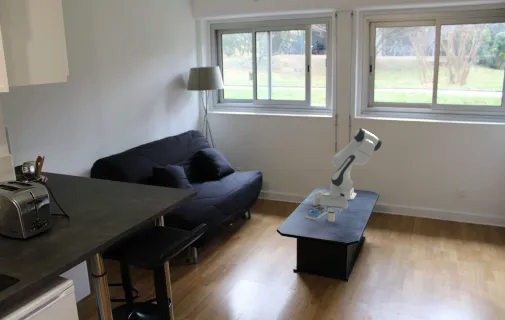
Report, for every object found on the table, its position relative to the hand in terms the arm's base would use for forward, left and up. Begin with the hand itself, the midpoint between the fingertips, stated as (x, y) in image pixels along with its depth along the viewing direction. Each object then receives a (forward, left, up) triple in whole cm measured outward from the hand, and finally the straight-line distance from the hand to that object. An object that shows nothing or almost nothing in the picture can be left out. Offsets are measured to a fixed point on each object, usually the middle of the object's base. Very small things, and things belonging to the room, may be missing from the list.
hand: (332, 212), depth 331 cm
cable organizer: (-24, -19, -6) cm, 31 cm away
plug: (+1, 0, -6) cm, 6 cm away
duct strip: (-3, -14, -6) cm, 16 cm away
